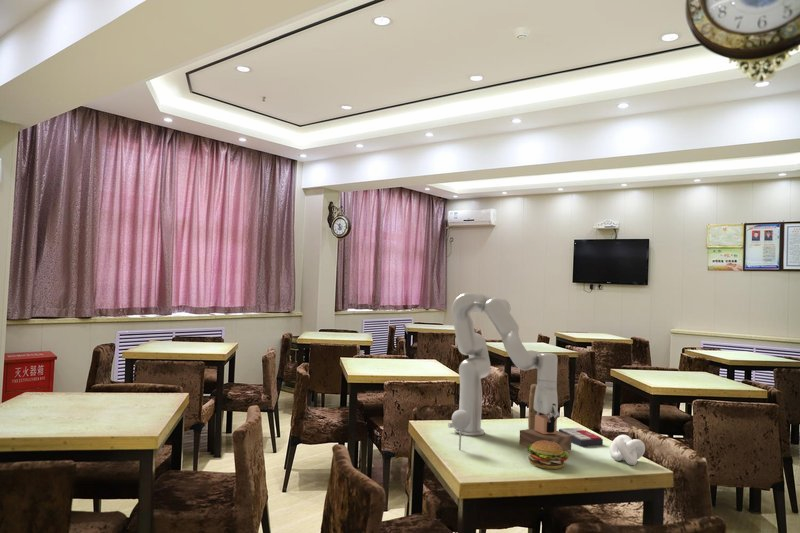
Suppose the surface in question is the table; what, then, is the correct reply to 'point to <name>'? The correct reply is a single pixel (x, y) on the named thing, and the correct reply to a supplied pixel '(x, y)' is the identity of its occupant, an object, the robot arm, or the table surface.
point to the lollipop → (460, 421)
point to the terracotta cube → (543, 424)
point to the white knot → (627, 449)
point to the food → (547, 455)
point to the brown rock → (531, 407)
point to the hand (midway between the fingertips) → (545, 429)
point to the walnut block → (545, 438)
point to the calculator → (582, 437)
